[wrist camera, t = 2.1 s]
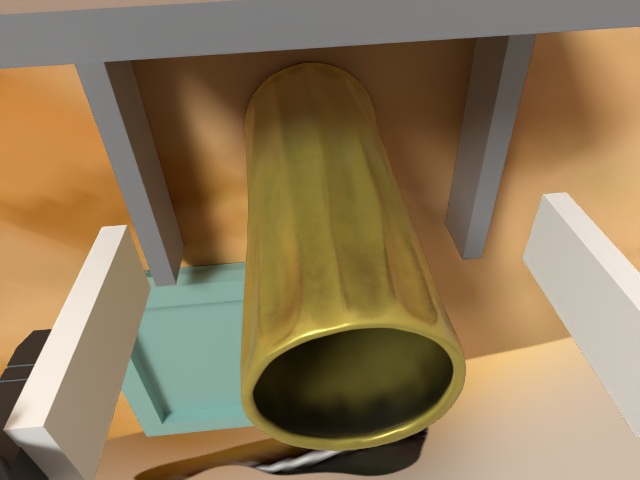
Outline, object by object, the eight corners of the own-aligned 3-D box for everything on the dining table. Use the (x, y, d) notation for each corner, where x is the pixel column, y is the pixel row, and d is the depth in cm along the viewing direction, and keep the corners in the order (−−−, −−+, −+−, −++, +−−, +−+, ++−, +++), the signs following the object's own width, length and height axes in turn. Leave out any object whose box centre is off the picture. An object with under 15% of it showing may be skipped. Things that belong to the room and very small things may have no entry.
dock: (166, 248, 25) (121, 415, 18) (69, -51, 17) (-105, 21, 9) (462, 223, 26) (545, 372, 18) (521, -75, 17) (727, -30, 10)
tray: (150, 418, 35) (146, 436, 34) (79, 276, 26) (71, 295, 25) (344, 398, 36) (346, 416, 35) (343, 253, 27) (346, 271, 26)
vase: (217, 112, 21) (159, 389, 10) (330, 30, 19) (418, 255, 8) (294, 202, 24) (318, 483, 13) (397, 140, 22) (523, 403, 11)
